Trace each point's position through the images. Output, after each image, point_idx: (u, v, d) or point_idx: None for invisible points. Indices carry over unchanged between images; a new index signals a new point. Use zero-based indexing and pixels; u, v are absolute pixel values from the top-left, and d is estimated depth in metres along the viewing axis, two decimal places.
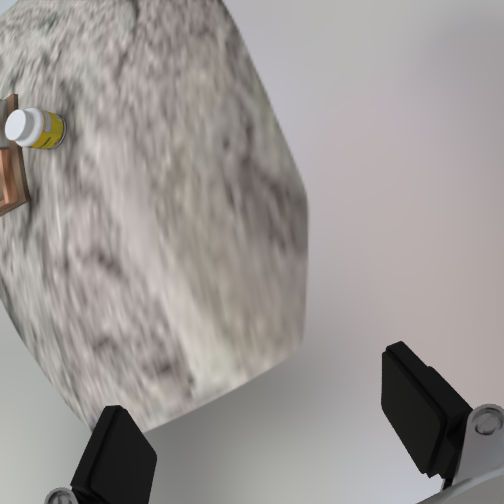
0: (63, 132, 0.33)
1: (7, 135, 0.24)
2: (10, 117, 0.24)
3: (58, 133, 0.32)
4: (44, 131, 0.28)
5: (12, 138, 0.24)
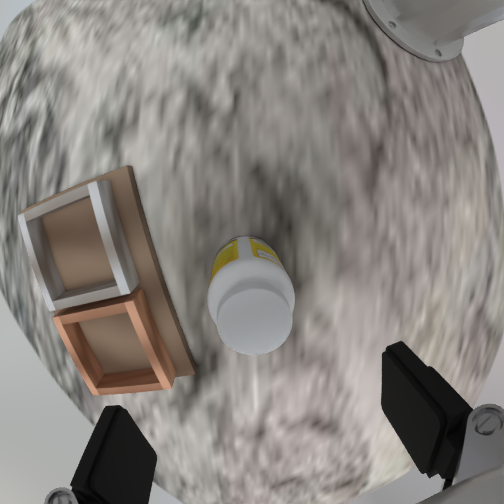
0: None
1: (229, 342, 0.15)
2: (235, 304, 0.15)
3: None
4: None
5: (250, 352, 0.15)
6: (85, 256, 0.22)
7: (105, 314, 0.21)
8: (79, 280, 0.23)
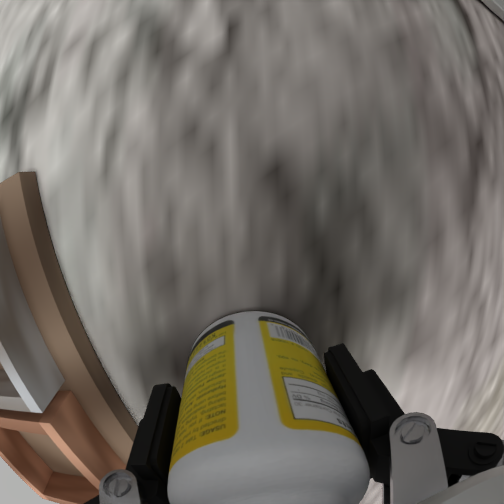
0: None
1: None
2: None
3: None
4: None
5: None
6: None
7: (20, 429, 0.08)
8: None
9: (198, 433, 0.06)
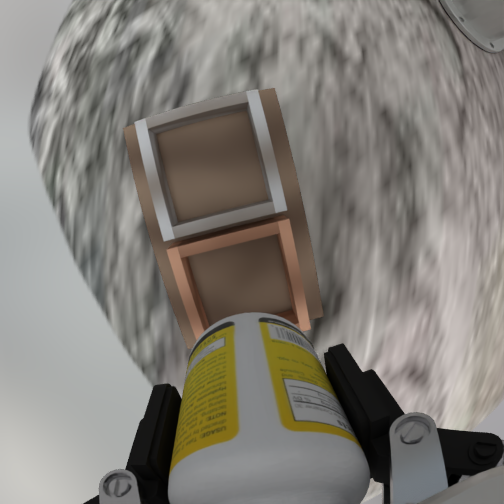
0: None
1: None
2: None
3: None
4: None
5: None
6: (215, 178, 0.21)
7: (250, 238, 0.20)
8: (201, 207, 0.22)
9: (198, 435, 0.06)
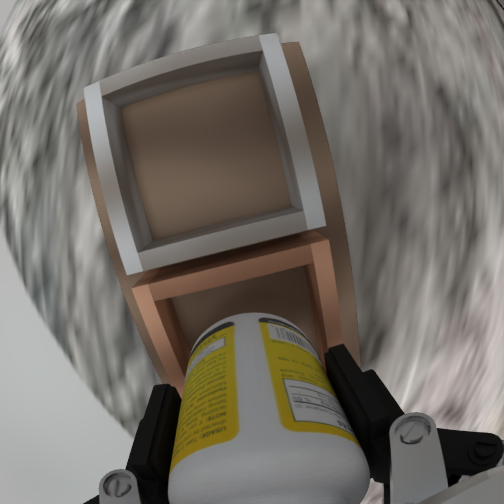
0: None
1: None
2: None
3: None
4: None
5: None
6: (208, 172, 0.13)
7: (265, 270, 0.12)
8: (188, 218, 0.14)
9: (198, 435, 0.06)
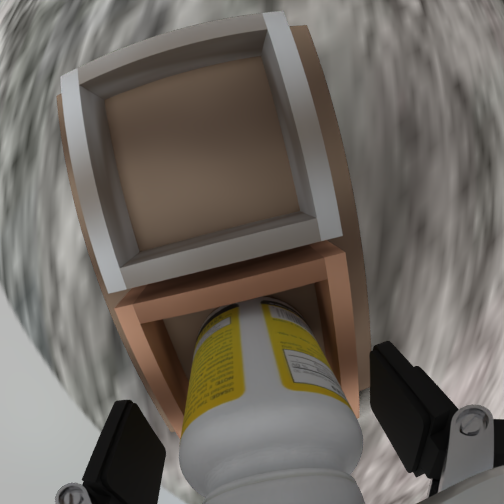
0: None
1: None
2: None
3: None
4: None
5: None
6: (203, 172, 0.12)
7: (270, 289, 0.10)
8: (179, 225, 0.12)
9: (209, 397, 0.07)
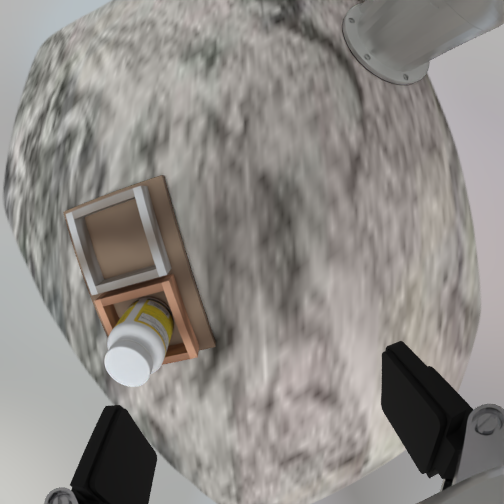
0: (173, 327, 0.30)
1: (114, 377, 0.21)
2: (112, 354, 0.20)
3: (171, 335, 0.29)
4: None
5: (128, 384, 0.21)
6: (124, 248, 0.28)
7: (144, 294, 0.27)
8: (117, 269, 0.29)
9: (116, 324, 0.24)
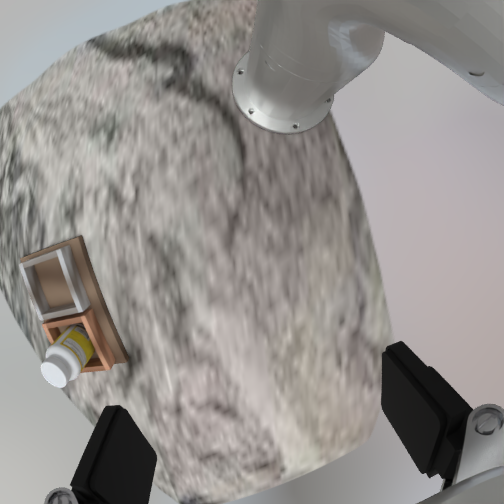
0: None
1: (47, 380, 0.28)
2: (44, 366, 0.27)
3: (92, 352, 0.35)
4: (82, 368, 0.32)
5: (55, 386, 0.28)
6: (60, 288, 0.35)
7: (71, 323, 0.34)
8: (57, 302, 0.35)
9: (51, 344, 0.30)
